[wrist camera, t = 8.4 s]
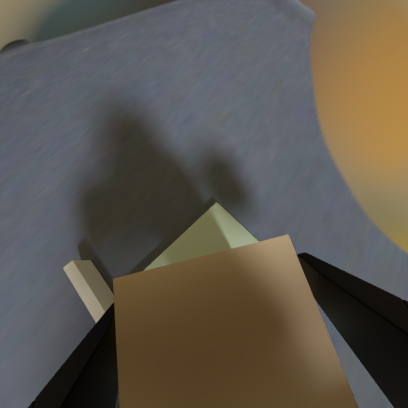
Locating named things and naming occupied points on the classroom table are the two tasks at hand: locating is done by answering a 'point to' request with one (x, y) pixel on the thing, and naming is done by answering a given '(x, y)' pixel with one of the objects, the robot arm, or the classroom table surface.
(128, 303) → the maple block
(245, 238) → the green pad
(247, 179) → the classroom table surface
